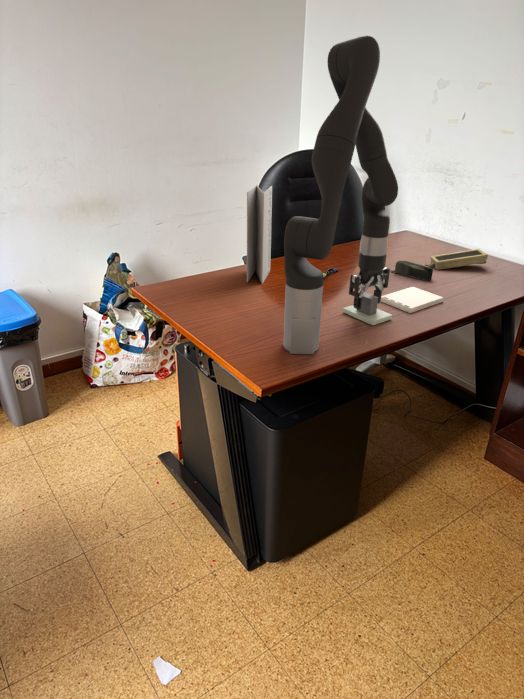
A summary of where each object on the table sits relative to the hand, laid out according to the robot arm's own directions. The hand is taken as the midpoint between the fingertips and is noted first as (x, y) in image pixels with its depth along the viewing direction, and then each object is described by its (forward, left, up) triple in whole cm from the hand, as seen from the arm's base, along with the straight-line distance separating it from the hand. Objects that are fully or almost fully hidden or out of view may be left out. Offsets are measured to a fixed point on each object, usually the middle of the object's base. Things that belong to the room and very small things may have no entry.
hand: (366, 305), depth 154 cm
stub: (0, 0, -3) cm, 3 cm away
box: (+50, -41, -4) cm, 64 cm away
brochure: (+34, +32, -4) cm, 47 cm away
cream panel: (+13, -17, -3) cm, 21 cm away
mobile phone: (+38, -22, -4) cm, 44 cm away
